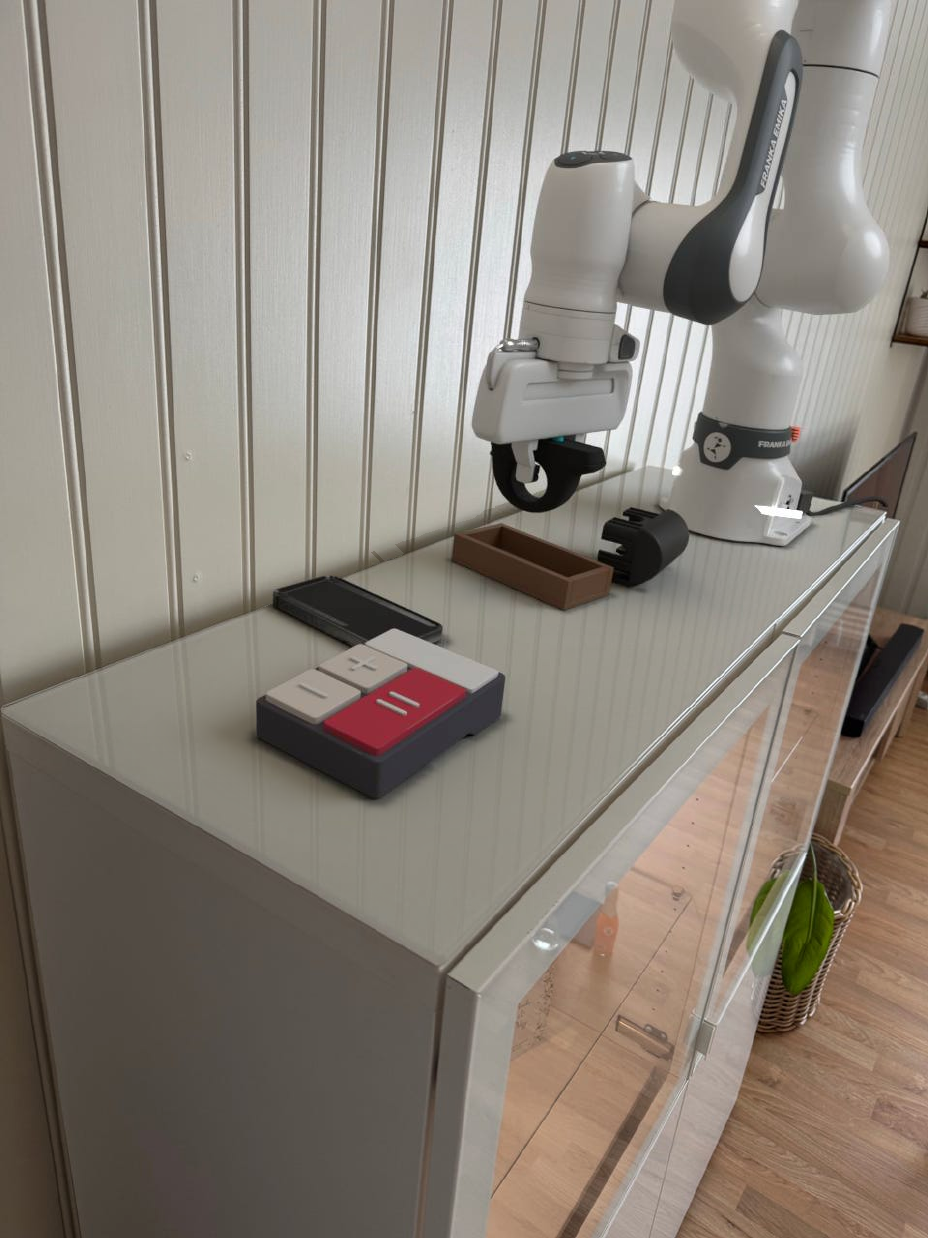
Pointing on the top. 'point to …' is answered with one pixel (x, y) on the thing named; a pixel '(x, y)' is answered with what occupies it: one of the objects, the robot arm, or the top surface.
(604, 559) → the end cap
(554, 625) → the top surface
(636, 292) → the robot arm
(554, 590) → the holder
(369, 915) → the top surface
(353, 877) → the top surface
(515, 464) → the controller
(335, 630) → the phone
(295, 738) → the calculator
